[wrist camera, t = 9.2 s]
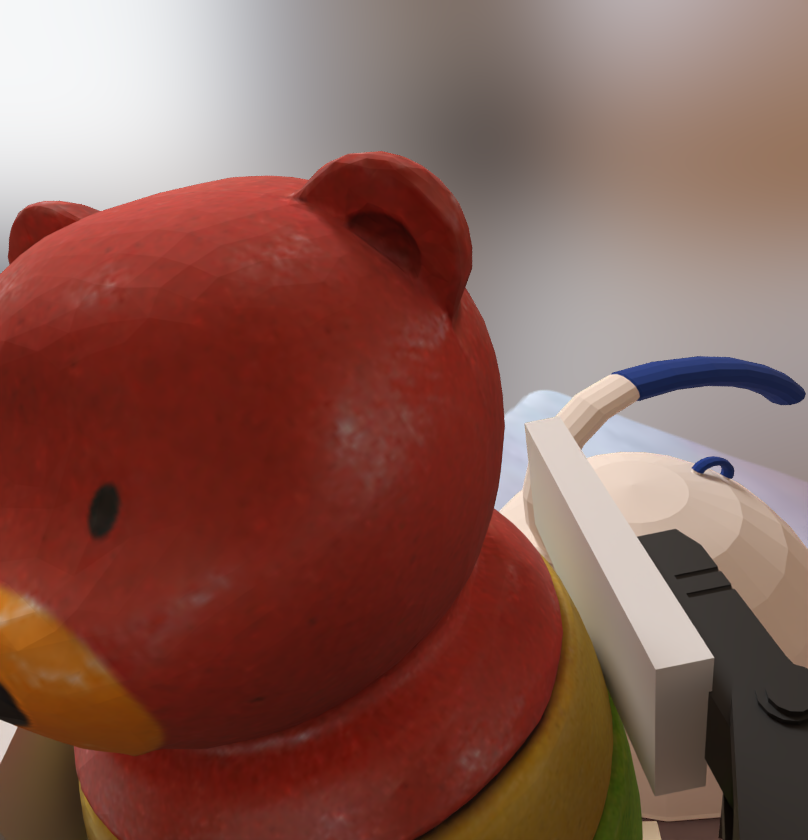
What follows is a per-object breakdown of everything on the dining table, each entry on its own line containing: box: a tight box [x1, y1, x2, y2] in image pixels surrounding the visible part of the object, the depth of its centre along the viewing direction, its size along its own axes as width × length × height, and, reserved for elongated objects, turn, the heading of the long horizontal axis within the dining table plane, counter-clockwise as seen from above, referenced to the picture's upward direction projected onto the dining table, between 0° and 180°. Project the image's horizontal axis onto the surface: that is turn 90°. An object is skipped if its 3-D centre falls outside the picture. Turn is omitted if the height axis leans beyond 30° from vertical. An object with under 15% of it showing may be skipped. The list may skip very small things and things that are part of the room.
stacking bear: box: [0, 151, 643, 840], centre depth 11 cm, size 11×10×18 cm
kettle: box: [499, 356, 808, 821], centre depth 35 cm, size 20×21×18 cm
